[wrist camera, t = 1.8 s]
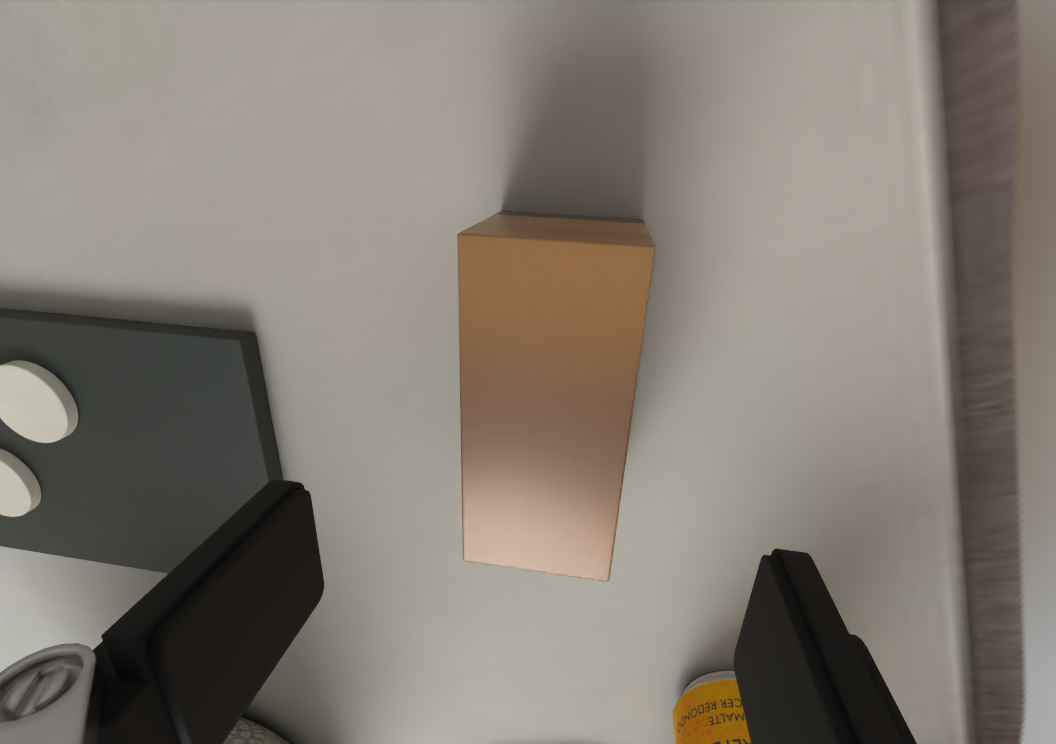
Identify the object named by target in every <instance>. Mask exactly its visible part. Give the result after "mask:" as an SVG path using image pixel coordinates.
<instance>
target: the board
mask: <svg viewBox="0 0 1056 744" xmlns="http://www.w3.org/2000/svg"><path fill="white" fill-rule="evenodd" d="M16 360H20V361H29V362H32V363H35V364H37V365H40V366H42V367H43V368H45V369H47V370H48V371H50V372H51V373H52V374H54V375H55V376H56V377H57V378H58V379H59V380H60V381H61V382H62V383H63V384H64V385H65V386H66V387H67V389H68V390H69V392H70V393H71V395H72V396H73V398H74V400H75V403H76V405H77V409H78V417H79V419H78V424H77V427H76V428H75V430H74V431H73V432H72V433H71V434H70V435H68V436H66V437H64V438H62V439H60V440H58V441H56V442H52V443H41V442H36V441H33V440H30V439H27V438H25V437H23V436H21V435H20V434H18V433H17V432H15V431H14V430H12V429H11V428H10V427H9V426H8V425H6V424H5V423H4V422H3V421H2V419H1V418H0V448H1V449H3V450H6V451H8V452H10V453H11V454H13V455H14V456H16V457H17V458H19V459H20V460H21V461H22V462H23V463H24V464H25V465H26V466H27V467H28V468H29V469H30V470H31V471H32V473H33V474H34V475H35V477H36V479H37V481H38V483H39V485H40V488H41V500H40V503H39V504H38V505H37V507H35V508H34V509H32V510H31V511H29V512H27V513H26V514H24V515H21V516H17V517H10V516H4V515H1V514H0V546H3V547H10V548H16V549H22V550H28V551H34V552H40V553H46V554H53V555H59V556H65V557H71V558H77V559H83V560H89V561H96V562H102V563H108V564H114V565H120V566H126V567H133V568H139V569H145V570H151V571H157V572H163V573H170V572H171V571H172V570H173V569H174V568H176V567H177V566H178V565H179V564H180V563H181V562H182V561H183V560H184V559H185V558H186V557H188V556H189V555H190V554H191V553H192V552H193V551H194V550H195V549H196V548H197V547H198V546H200V545H201V544H202V543H203V542H204V541H205V540H206V539H207V538H208V537H209V536H210V535H212V534H213V533H214V532H215V531H216V530H217V529H218V528H219V527H220V526H221V525H222V524H224V523H225V522H226V521H227V520H228V519H229V518H230V517H231V516H232V515H233V514H234V513H236V512H237V511H238V510H239V509H240V508H241V507H242V506H243V505H244V504H245V503H246V502H248V501H249V500H250V499H251V498H252V497H253V496H254V495H255V494H256V493H257V492H258V491H260V490H261V489H262V488H263V487H264V486H265V485H266V484H267V483H268V482H270V481H271V480H274V479H279V480H282V475H281V469H280V464H279V459H278V454H277V448H276V443H275V438H274V432H273V427H272V422H271V416H270V411H269V406H268V401H267V395H266V390H265V385H264V379H263V374H262V369H261V364H260V358H259V353H258V348H257V342H256V337H255V333H253V332H243V331H232V330H222V329H211V328H200V327H190V326H179V325H169V324H158V323H147V322H137V321H126V320H116V319H105V318H94V317H84V316H73V315H63V314H52V313H42V312H31V311H20V310H10V309H0V365H2V364H5V363H8V362H11V361H16Z"/></svg>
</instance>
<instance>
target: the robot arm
mask: <svg viewBox="0 0 1056 744" xmlns="http://www.w3.org/2000/svg"><path fill="white" fill-rule="evenodd" d="M323 590H324V580H323V573H322V567H321V560H320V554H319V547H318V540H317V534H316V527H315V521H314V514H313V507H312V501H311V495H310V493H309V491H307V490H305V489H304V486H303V485H302V483H299V482H293V481H286V480H279V479H274V480H271V481H270V482H268V483H267V484H266V485H265V486H264V487H263V488H262V489H261V490H260V491H258V492H257V493H256V494H255V495H254V496H253V497H252V498H251V499H250V500H249V501H248V502H246V503H245V504H244V505H243V506H242V507H241V508H240V509H239V510H238V511H237V512H236V513H234V514H233V515H232V516H231V517H230V518H229V519H228V520H227V521H226V522H225V523H224V524H222V525H221V526H220V527H219V528H218V529H217V530H216V531H215V532H214V533H213V534H212V535H210V536H209V537H208V538H207V539H206V540H205V541H204V542H203V543H202V544H201V545H200V546H198V547H197V548H196V549H195V550H194V551H193V552H192V553H191V554H190V555H189V556H188V557H186V558H185V559H184V560H183V561H182V562H181V563H180V564H179V565H178V566H177V567H176V568H174V569H173V570H172V571H171V572H170V573H169V574H168V575H167V576H166V577H165V578H164V579H162V580H161V581H160V582H159V583H158V584H157V585H156V586H155V587H154V588H153V589H152V590H150V591H149V592H148V593H147V594H146V595H145V596H144V597H143V598H142V599H141V600H140V601H138V602H137V603H136V604H135V605H134V606H133V607H132V608H131V609H130V610H129V611H128V612H126V613H125V614H124V615H123V616H122V617H121V618H120V619H119V620H118V621H117V622H116V623H114V624H113V625H112V626H111V627H110V628H109V629H108V630H107V631H106V632H105V633H104V634H102V635H101V637H102V639H103V641H102V642H101V643H100V644H99V645H98V646H97V647H96V648H95V649H94V650H93V651H92V650H91V649H90V648H89V647H88V646H85V645H82V644H78V643H75V644H61V645H57V646H53V647H48V648H45V649H43V650H40V651H38V652H35V653H33V654H31V655H28V656H26V657H24V658H23V659H21V660H19V661H18V662H16V663H14V664H12V665H11V666H9V667H8V668H6V669H5V670H4V671H2V672H1V673H0V744H223V743H224V742H225V740H226V739H227V737H228V736H229V734H230V733H231V731H232V730H233V728H234V727H235V725H236V724H237V722H238V721H239V719H240V718H241V716H242V715H243V713H244V712H245V711H246V709H247V708H248V706H249V705H250V703H251V702H252V700H253V699H254V697H255V696H256V694H257V693H258V691H259V690H260V688H261V687H262V685H263V684H264V683H265V681H266V680H267V678H268V677H269V675H270V674H271V672H272V671H273V669H274V668H275V666H276V665H277V663H278V662H279V660H280V659H281V657H282V656H283V655H284V653H285V652H286V650H287V649H288V647H289V646H290V644H291V643H292V641H293V640H294V638H295V637H296V635H297V634H298V632H299V631H300V629H301V628H302V626H303V625H304V624H305V622H306V621H307V619H308V618H309V616H310V615H311V613H312V612H313V610H314V609H315V607H316V606H317V604H318V603H319V601H320V599H321V597H322V594H323ZM734 671H735V676H736V681H737V685H738V689H739V693H740V698H741V702H742V706H743V711H744V715H745V719H746V724H747V728H748V732H749V737H750V741H751V744H917V743H916V741H915V739H914V737H913V736H912V734H911V732H910V730H909V728H908V726H907V724H906V722H905V720H904V718H903V716H902V714H901V712H900V710H899V708H898V706H897V705H896V703H895V701H894V699H893V697H892V695H891V693H890V691H889V689H888V687H887V685H886V683H885V681H884V679H883V677H882V676H881V674H880V672H879V670H878V668H877V666H876V664H875V662H874V660H873V658H872V656H871V654H870V652H869V650H868V649H867V647H866V645H865V644H864V642H863V641H862V640H861V639H860V638H859V637H858V636H856V635H852V634H849V632H848V630H847V628H846V626H845V624H844V622H843V620H842V618H841V616H840V614H839V612H838V610H837V608H836V606H835V604H834V602H833V600H832V598H831V596H830V594H829V592H828V590H827V588H826V586H825V584H824V582H823V580H822V578H821V576H820V574H819V571H818V569H817V567H816V565H815V563H814V561H813V559H812V558H811V556H810V555H809V554H808V553H804V552H797V551H790V550H783V549H774V550H773V551H772V554H771V556H769V555H763V556H762V558H761V561H760V564H759V568H758V571H757V575H756V578H755V582H754V586H753V589H752V593H751V596H750V600H749V603H748V607H747V610H746V614H745V617H744V621H743V624H742V628H741V631H740V635H739V638H738V642H737V646H736V649H735V653H734Z"/></svg>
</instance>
